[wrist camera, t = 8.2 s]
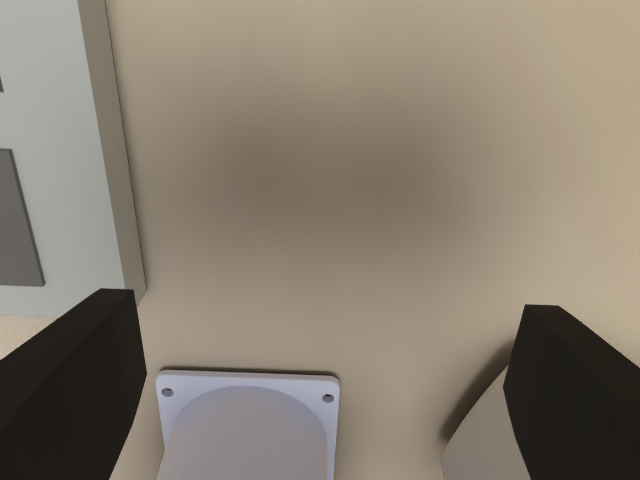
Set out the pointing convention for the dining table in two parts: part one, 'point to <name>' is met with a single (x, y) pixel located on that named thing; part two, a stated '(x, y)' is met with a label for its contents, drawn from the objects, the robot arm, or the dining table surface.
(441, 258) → the dining table surface
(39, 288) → the outlet plate
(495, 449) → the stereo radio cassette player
